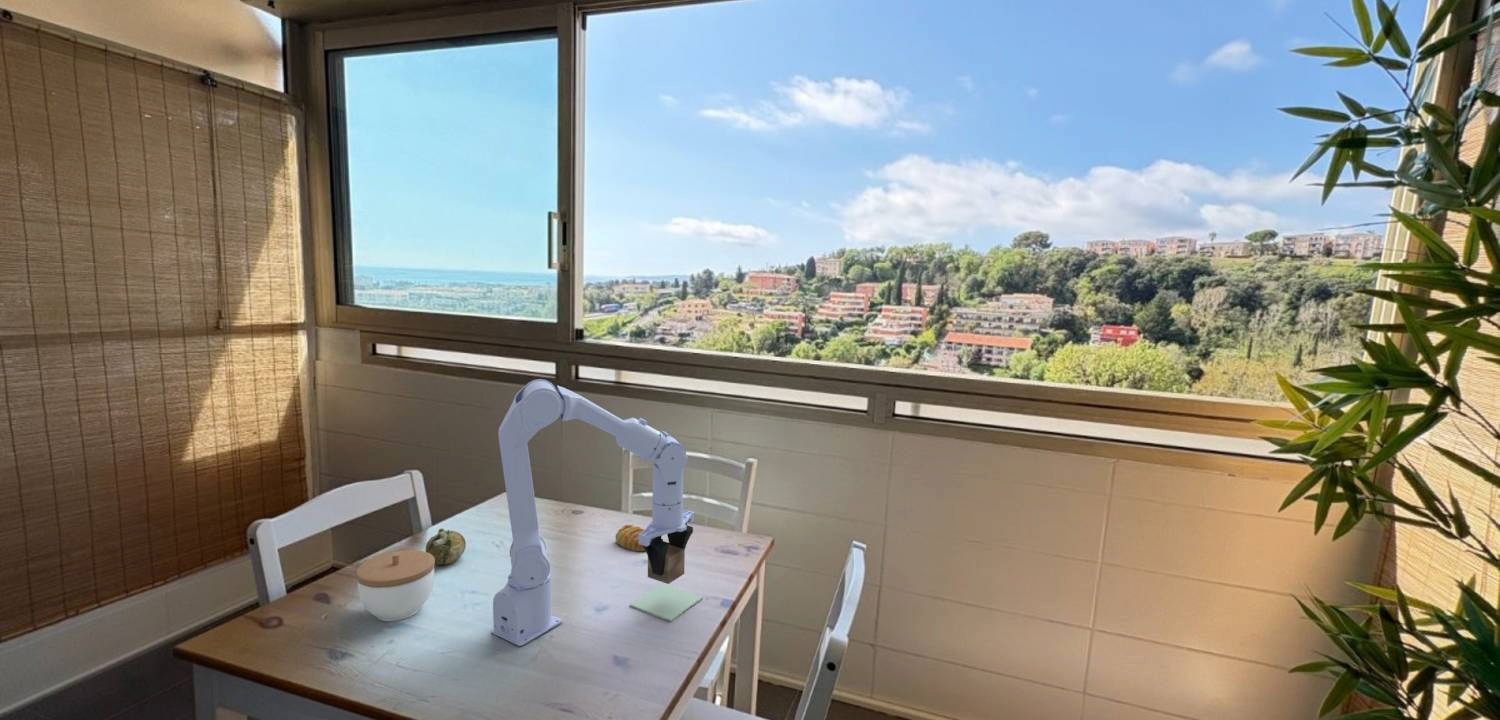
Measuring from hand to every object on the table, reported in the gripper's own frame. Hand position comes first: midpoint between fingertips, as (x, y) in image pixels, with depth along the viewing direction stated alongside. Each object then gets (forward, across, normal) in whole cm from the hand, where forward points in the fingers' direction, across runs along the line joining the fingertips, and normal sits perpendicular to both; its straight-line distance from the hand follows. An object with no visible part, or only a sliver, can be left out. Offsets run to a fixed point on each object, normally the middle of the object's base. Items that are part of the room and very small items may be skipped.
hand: (667, 568), depth 123 cm
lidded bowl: (+7, -30, +39) cm, 50 cm away
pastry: (+8, +17, +23) cm, 30 cm away
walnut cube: (+2, 0, 0) cm, 2 cm away
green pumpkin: (+7, -13, +50) cm, 52 cm away
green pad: (+7, 0, 0) cm, 7 cm away
